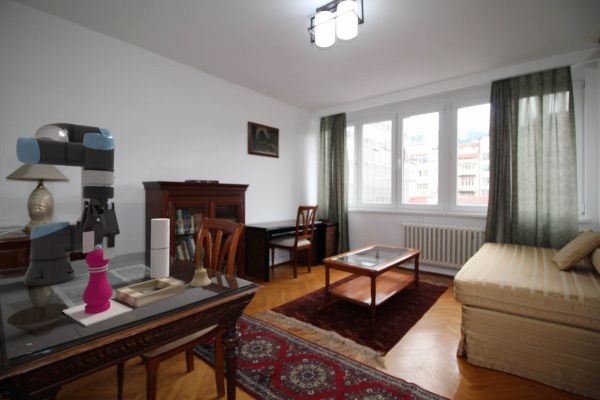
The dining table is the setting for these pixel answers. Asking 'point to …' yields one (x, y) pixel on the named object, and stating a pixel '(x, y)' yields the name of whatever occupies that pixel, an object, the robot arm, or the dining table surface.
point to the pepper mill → (97, 283)
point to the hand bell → (200, 271)
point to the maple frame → (138, 299)
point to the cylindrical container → (160, 248)
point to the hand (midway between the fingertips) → (98, 255)
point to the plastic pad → (90, 319)
